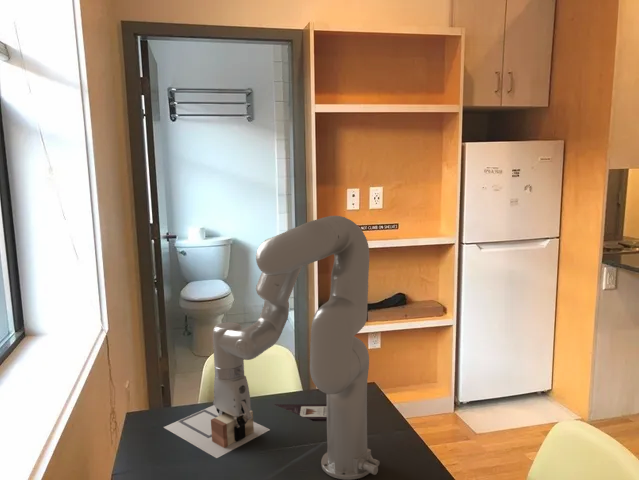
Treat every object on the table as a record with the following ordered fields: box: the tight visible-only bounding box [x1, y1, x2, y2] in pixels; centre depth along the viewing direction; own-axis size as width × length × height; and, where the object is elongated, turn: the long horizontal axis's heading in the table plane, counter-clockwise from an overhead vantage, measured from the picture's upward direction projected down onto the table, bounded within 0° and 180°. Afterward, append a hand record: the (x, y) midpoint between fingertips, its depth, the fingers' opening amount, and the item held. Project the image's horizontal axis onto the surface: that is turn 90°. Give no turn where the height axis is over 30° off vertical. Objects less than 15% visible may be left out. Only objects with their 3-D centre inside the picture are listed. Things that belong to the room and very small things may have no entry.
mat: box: [163, 404, 271, 459], centre depth 143 cm, size 24×18×1 cm
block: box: [211, 409, 254, 448], centre depth 138 cm, size 10×5×6 cm, turn 138°
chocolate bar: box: [274, 403, 327, 422], centre depth 152 cm, size 9×1×18 cm
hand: (233, 435), depth 138 cm, fingers closed on block, 5 cm apart
